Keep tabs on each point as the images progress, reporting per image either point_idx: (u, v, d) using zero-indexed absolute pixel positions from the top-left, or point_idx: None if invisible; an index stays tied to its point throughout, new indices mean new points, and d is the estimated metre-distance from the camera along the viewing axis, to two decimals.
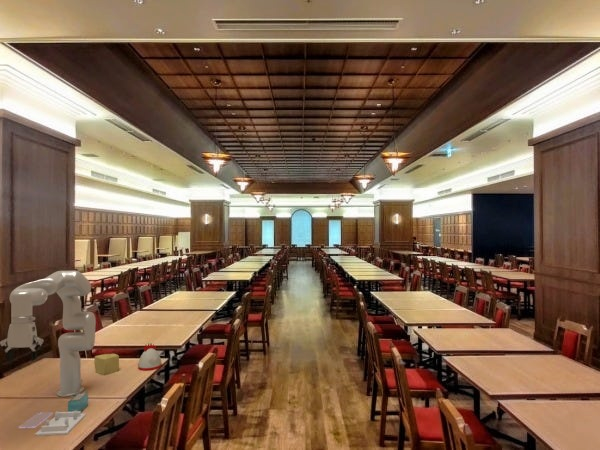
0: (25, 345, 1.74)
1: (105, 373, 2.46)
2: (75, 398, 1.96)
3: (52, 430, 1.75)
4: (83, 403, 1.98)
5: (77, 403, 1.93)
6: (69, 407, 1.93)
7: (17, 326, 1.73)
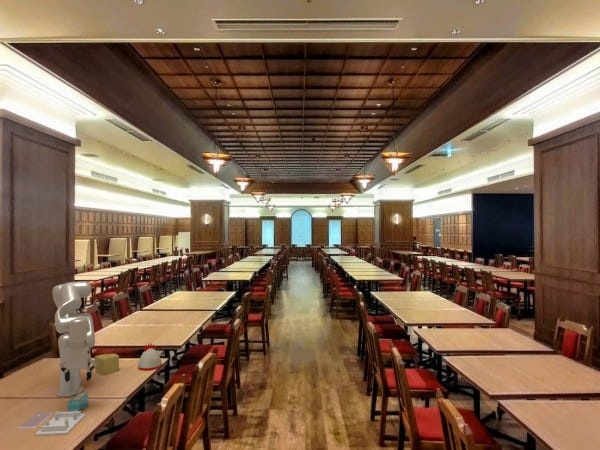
0: (81, 367, 1.96)
1: (105, 373, 2.46)
2: (75, 398, 1.96)
3: (52, 430, 1.75)
4: (83, 403, 1.98)
5: (77, 403, 1.93)
6: (69, 407, 1.93)
7: (74, 350, 1.96)
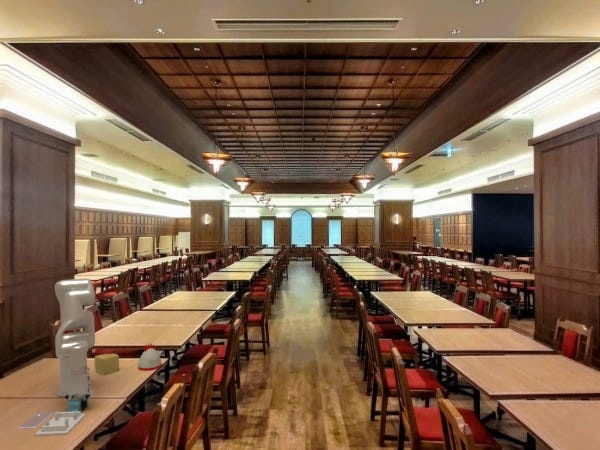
0: (81, 393, 1.96)
1: (105, 373, 2.46)
2: (75, 398, 1.96)
3: (52, 430, 1.75)
4: None
5: (77, 403, 1.93)
6: (69, 407, 1.93)
7: (74, 376, 1.96)
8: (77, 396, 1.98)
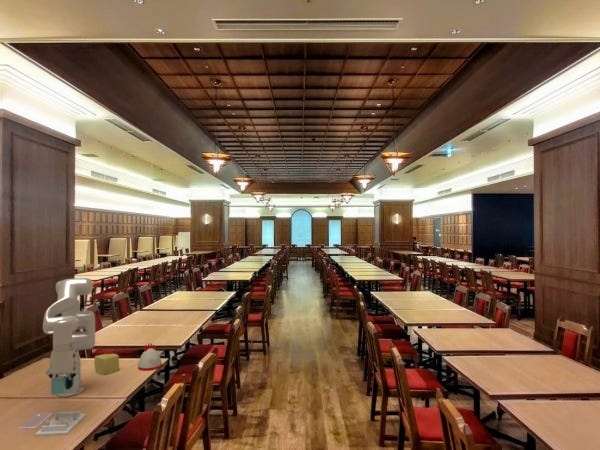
0: (66, 371, 1.81)
1: (105, 373, 2.46)
2: (59, 377, 1.81)
3: (52, 430, 1.75)
4: None
5: (61, 381, 1.78)
6: (53, 386, 1.78)
7: (59, 353, 1.81)
8: (62, 375, 1.84)
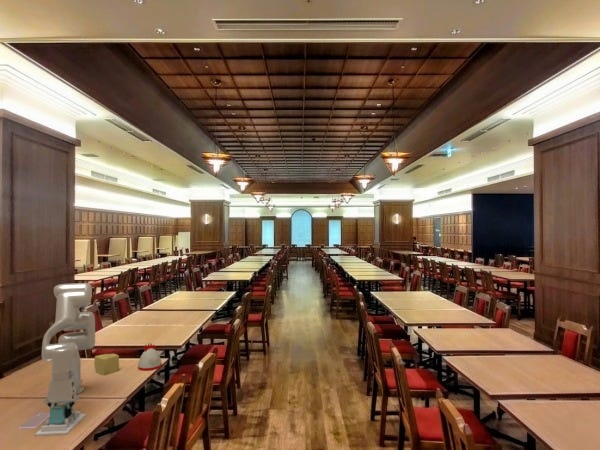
0: (65, 400, 1.80)
1: (105, 373, 2.46)
2: (58, 405, 1.80)
3: (52, 430, 1.75)
4: None
5: (60, 411, 1.77)
6: (51, 415, 1.77)
7: (57, 382, 1.80)
8: (60, 403, 1.82)
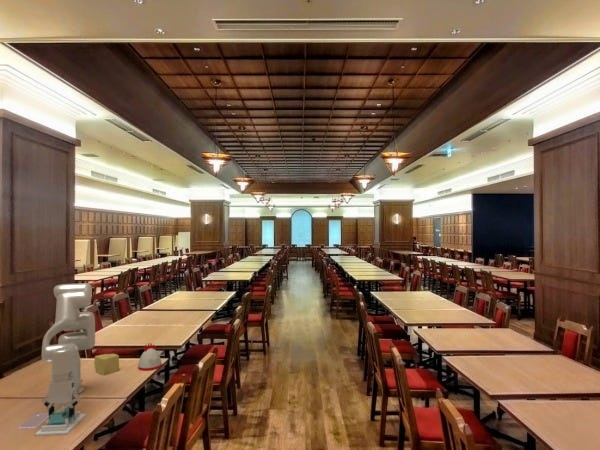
0: (65, 401, 1.80)
1: (105, 373, 2.46)
2: (58, 410, 1.80)
3: (52, 430, 1.75)
4: (67, 415, 1.82)
5: (60, 416, 1.77)
6: (51, 420, 1.77)
7: (57, 383, 1.80)
8: (60, 408, 1.82)
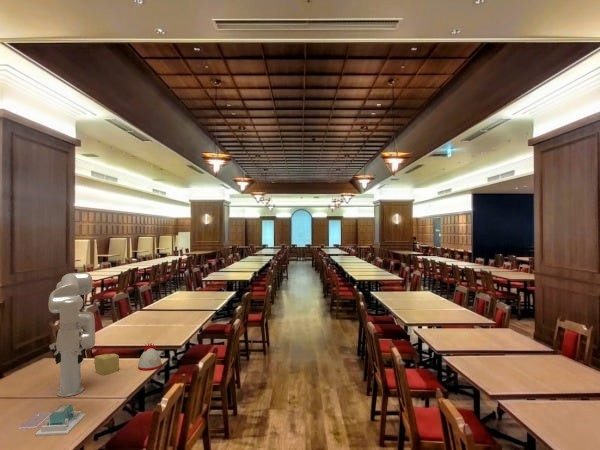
0: (72, 349, 1.88)
1: (105, 373, 2.46)
2: (58, 410, 1.80)
3: (52, 430, 1.75)
4: (67, 415, 1.82)
5: (60, 416, 1.77)
6: (51, 420, 1.77)
7: (65, 332, 1.87)
8: (60, 408, 1.82)
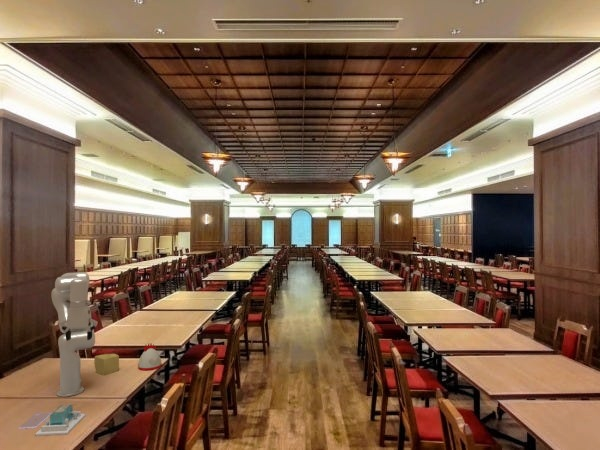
0: (82, 326, 1.98)
1: (105, 373, 2.46)
2: (58, 410, 1.80)
3: (52, 430, 1.75)
4: (67, 415, 1.82)
5: (60, 416, 1.77)
6: (51, 420, 1.77)
7: (75, 309, 1.97)
8: (60, 408, 1.82)
